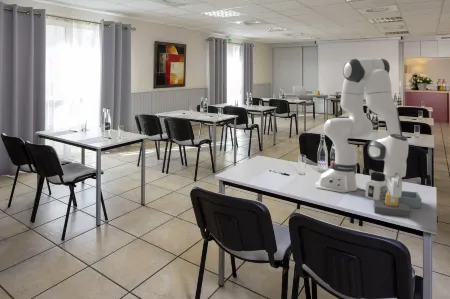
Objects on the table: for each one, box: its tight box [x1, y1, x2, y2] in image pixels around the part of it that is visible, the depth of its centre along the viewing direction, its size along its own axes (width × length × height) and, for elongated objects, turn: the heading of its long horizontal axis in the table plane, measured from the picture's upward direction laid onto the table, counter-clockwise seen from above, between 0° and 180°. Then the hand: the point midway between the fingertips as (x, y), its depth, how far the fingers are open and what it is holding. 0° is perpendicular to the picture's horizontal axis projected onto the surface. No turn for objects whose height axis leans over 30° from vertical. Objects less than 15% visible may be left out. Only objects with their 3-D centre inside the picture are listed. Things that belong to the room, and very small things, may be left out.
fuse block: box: [372, 199, 411, 218], centre depth 154 cm, size 14×10×3 cm
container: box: [364, 171, 389, 201], centre depth 171 cm, size 8×8×13 cm
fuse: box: [384, 192, 399, 207], centre depth 154 cm, size 5×2×8 cm, turn 70°
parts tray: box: [398, 190, 423, 209], centre depth 164 cm, size 11×11×4 cm
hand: (391, 200), depth 153 cm, fingers open, 3 cm apart
